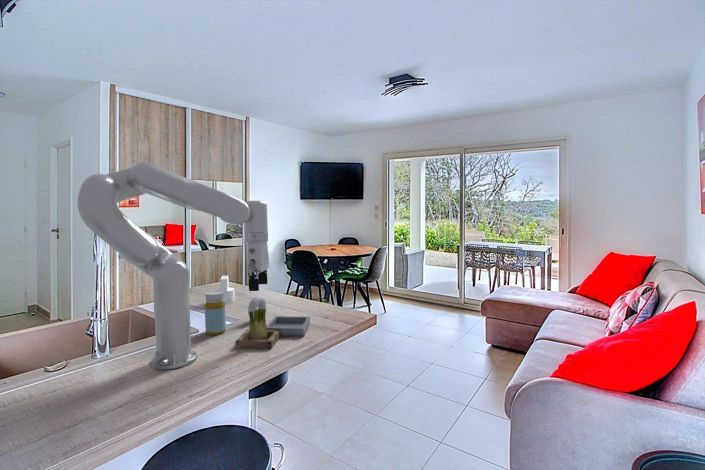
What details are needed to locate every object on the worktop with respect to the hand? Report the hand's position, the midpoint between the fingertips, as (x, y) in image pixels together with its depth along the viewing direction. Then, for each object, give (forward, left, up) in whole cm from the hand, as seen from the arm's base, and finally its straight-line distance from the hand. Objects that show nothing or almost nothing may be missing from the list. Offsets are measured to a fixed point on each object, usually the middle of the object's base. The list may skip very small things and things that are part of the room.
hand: (258, 287), depth 124 cm
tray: (+13, -7, -19) cm, 24 cm away
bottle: (+9, +19, -19) cm, 29 cm away
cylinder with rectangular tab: (+52, +33, -19) cm, 65 cm away
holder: (0, 0, -19) cm, 19 cm away
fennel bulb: (0, 0, -19) cm, 19 cm away
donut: (+24, +8, -19) cm, 32 cm away
